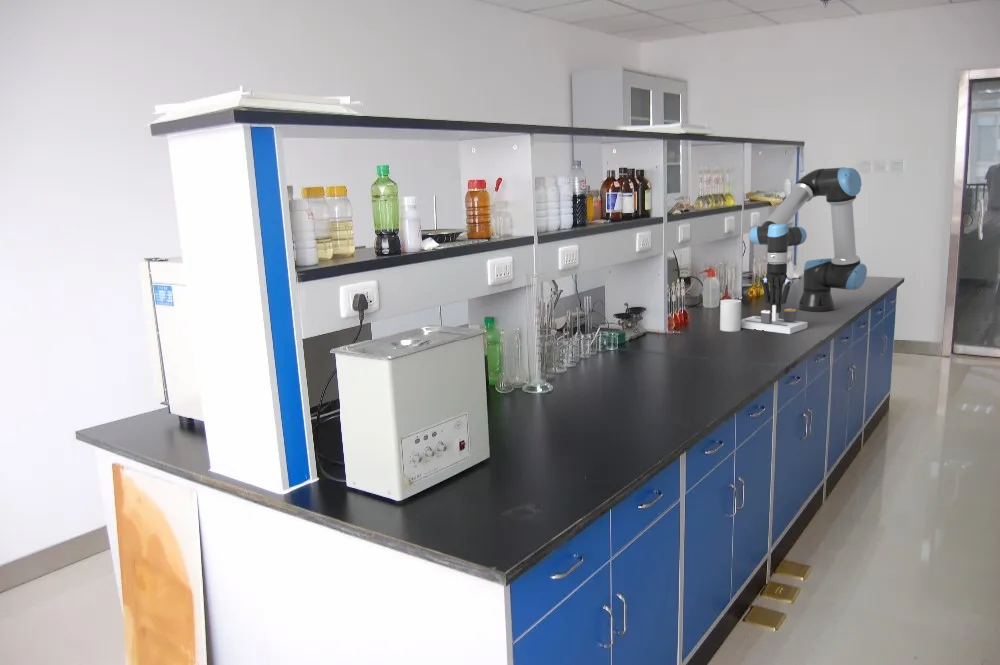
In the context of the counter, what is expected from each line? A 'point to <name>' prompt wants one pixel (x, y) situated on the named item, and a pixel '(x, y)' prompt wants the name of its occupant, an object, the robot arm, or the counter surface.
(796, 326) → the panel
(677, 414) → the counter surface
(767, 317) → the fader cream
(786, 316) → the fader orange
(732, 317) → the cup
